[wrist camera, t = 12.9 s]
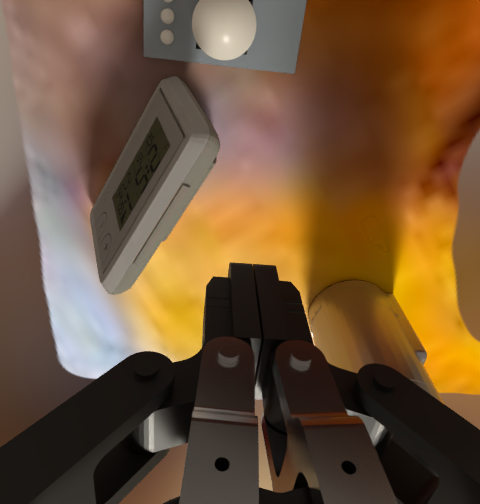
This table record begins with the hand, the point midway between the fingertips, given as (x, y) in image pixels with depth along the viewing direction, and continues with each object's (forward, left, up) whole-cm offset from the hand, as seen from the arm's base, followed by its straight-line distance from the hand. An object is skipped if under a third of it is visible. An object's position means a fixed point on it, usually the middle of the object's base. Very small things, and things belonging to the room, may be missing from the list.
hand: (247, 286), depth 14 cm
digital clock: (+6, +6, -27) cm, 29 cm away
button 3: (+1, -6, -27) cm, 27 cm away
